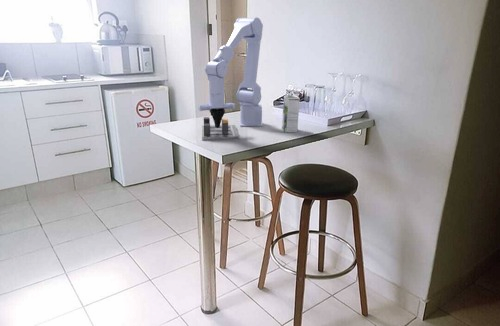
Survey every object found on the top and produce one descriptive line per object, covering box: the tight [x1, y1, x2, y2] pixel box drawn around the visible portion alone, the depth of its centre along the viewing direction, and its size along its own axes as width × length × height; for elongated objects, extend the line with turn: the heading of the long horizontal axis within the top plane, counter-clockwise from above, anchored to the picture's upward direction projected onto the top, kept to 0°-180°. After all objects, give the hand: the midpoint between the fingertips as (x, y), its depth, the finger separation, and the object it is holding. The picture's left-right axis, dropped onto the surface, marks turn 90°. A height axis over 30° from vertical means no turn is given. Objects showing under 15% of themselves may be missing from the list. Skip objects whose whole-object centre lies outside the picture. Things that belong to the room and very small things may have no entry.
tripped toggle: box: [221, 118, 229, 131], centre depth 145 cm, size 2×3×4 cm
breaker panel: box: [201, 116, 240, 141], centre depth 145 cm, size 14×18×5 cm
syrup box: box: [281, 94, 301, 133], centre depth 149 cm, size 6×6×14 cm
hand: (217, 127), depth 145 cm, fingers closed
